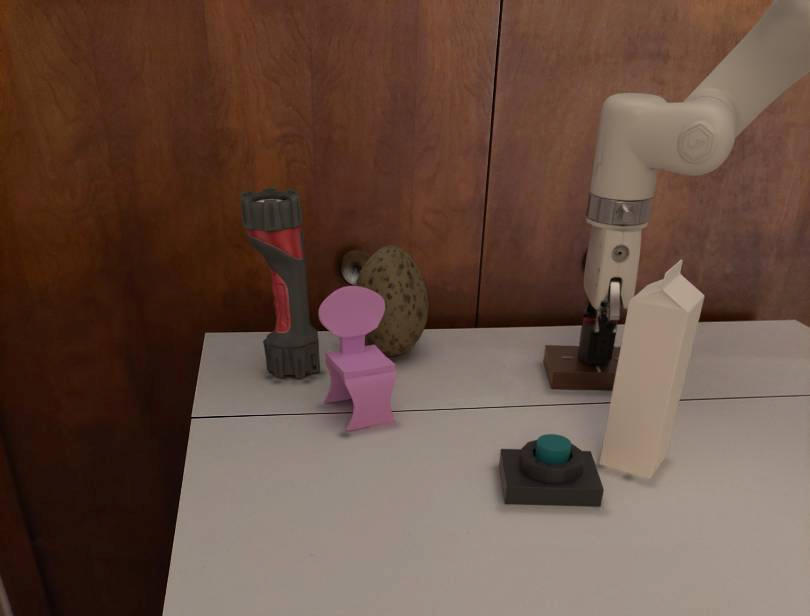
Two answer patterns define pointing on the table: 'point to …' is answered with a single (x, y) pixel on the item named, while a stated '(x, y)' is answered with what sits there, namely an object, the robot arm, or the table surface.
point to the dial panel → (578, 369)
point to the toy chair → (358, 356)
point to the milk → (651, 373)
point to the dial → (587, 341)
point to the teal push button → (553, 449)
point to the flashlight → (283, 278)
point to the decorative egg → (395, 299)
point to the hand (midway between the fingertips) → (595, 350)
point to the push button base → (549, 478)
